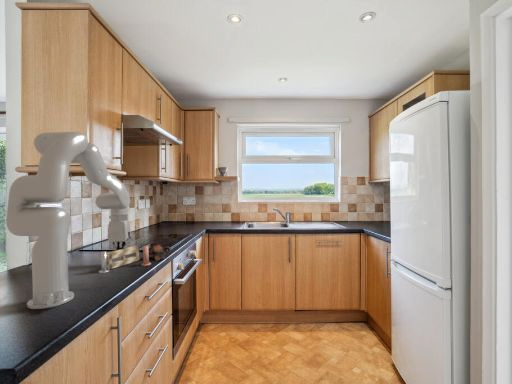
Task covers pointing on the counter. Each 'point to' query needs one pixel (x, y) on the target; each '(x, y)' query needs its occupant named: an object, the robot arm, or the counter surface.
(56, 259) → the robot arm
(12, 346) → the counter surface
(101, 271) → the clear glass cylinder
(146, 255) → the post
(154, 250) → the pottery mug
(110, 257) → the gate
